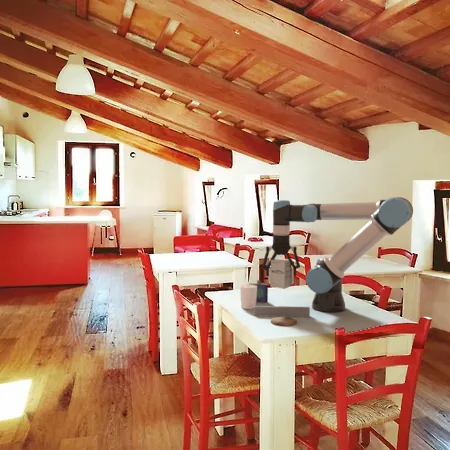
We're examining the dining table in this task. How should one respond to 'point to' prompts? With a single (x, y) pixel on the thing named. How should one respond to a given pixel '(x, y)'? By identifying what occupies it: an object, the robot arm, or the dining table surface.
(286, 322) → the coaster
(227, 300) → the dining table surface
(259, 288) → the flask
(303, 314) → the low wall
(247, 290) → the white cup
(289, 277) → the supplement box
